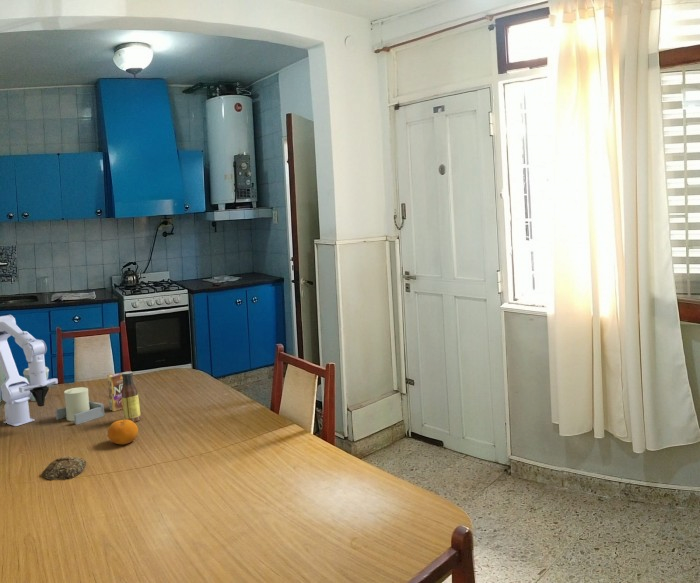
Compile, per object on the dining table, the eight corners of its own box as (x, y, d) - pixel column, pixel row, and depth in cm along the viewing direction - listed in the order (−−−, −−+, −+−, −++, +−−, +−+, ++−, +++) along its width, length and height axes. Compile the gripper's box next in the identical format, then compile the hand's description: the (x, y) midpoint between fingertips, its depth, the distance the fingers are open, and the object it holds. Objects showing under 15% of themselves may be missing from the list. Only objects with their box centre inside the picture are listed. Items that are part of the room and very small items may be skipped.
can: (62, 418, 256) (59, 390, 255) (83, 412, 263) (81, 384, 262) (73, 422, 250) (70, 393, 249) (95, 416, 257) (92, 388, 256)
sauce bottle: (143, 417, 253) (139, 370, 250) (136, 423, 247) (132, 374, 244) (128, 418, 254) (124, 370, 251) (121, 423, 248) (116, 374, 245)
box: (56, 419, 255) (54, 407, 255) (84, 410, 266) (83, 399, 265) (76, 424, 247) (75, 412, 247) (104, 415, 258) (103, 404, 257)
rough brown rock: (91, 464, 208) (89, 449, 207) (76, 480, 196) (74, 464, 195) (52, 466, 208) (51, 451, 207) (35, 481, 195) (33, 466, 195)
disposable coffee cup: (26, 398, 288) (23, 366, 286) (52, 394, 292) (48, 363, 290) (25, 404, 278) (21, 371, 276) (51, 400, 283) (48, 368, 281)
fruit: (107, 449, 220) (105, 427, 219) (110, 439, 230) (108, 418, 229) (138, 445, 223) (136, 424, 222) (139, 435, 233) (138, 415, 232)
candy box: (113, 412, 262) (110, 376, 260) (109, 409, 265) (106, 375, 263) (133, 406, 268) (131, 372, 266) (129, 404, 271) (126, 370, 270)
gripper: (24, 377, 233) (28, 412, 235) (60, 368, 245) (64, 402, 247) (14, 375, 237) (18, 409, 238) (50, 366, 249) (53, 399, 250)
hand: (40, 405), depth 243 cm, fingers closed
